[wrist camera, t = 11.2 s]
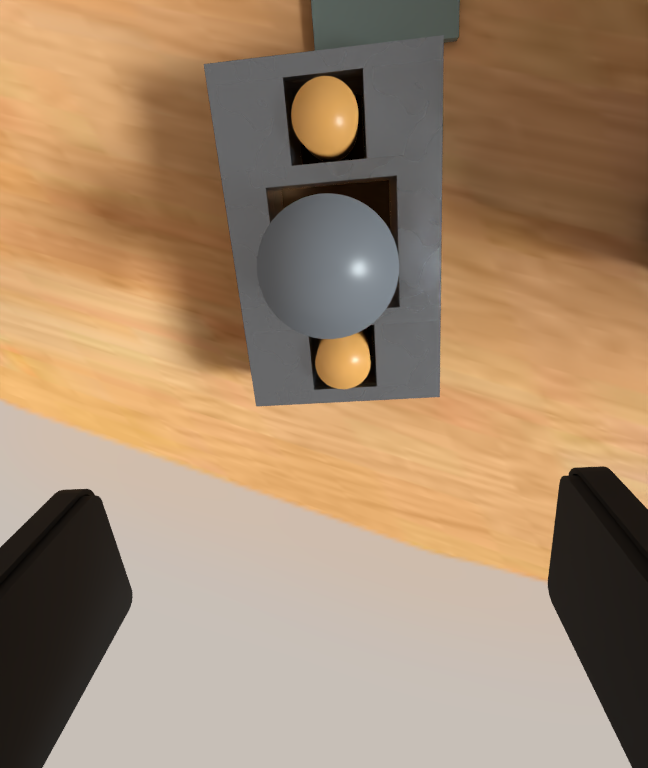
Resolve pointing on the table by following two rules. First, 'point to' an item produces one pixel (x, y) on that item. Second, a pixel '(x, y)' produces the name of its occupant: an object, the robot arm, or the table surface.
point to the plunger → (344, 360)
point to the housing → (381, 162)
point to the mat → (382, 21)
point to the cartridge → (327, 266)
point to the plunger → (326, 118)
